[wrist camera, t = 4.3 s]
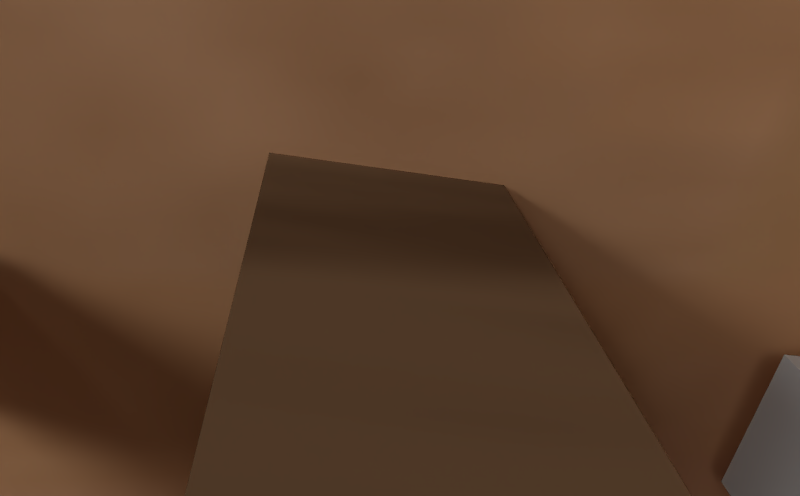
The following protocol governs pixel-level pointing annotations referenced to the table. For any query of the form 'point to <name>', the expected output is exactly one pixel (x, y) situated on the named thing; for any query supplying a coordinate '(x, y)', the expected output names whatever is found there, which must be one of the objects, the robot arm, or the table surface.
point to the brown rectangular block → (411, 352)
